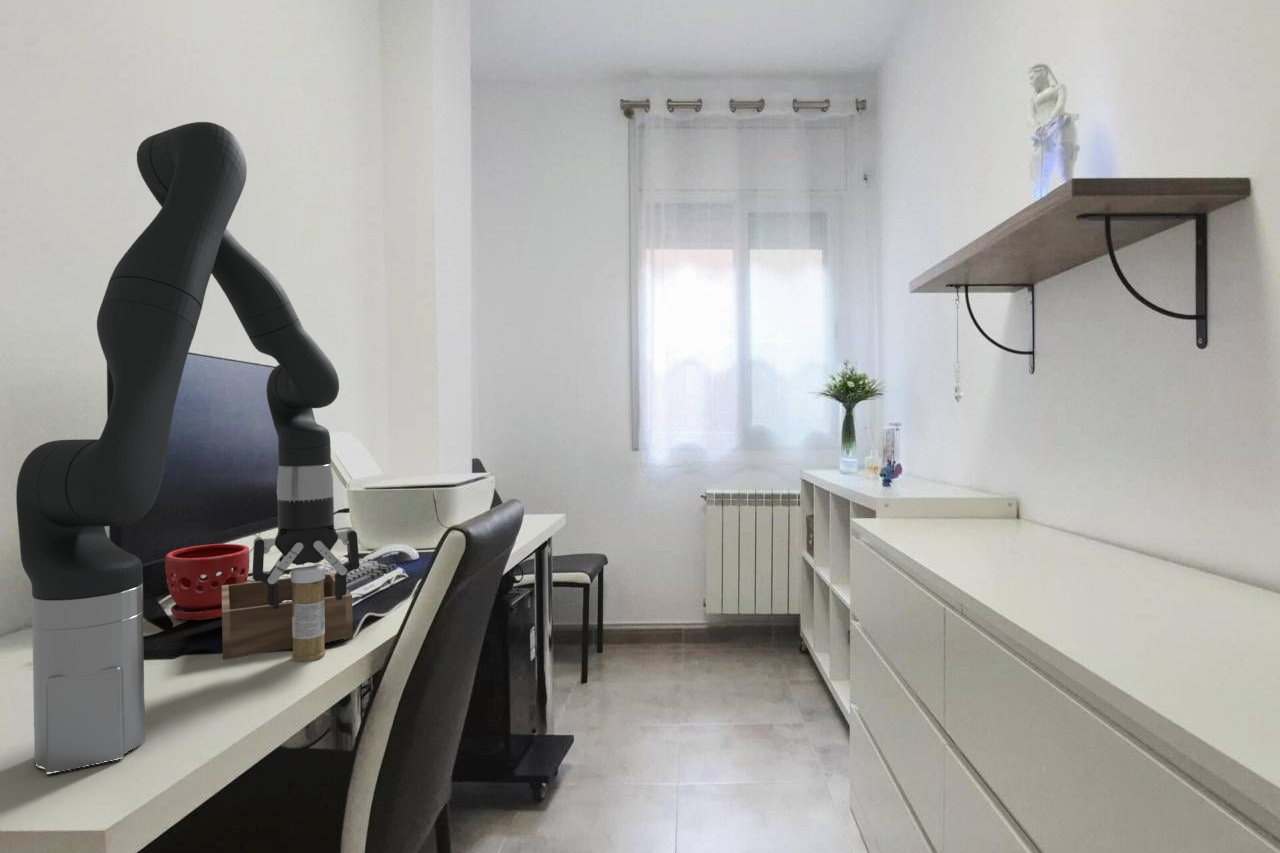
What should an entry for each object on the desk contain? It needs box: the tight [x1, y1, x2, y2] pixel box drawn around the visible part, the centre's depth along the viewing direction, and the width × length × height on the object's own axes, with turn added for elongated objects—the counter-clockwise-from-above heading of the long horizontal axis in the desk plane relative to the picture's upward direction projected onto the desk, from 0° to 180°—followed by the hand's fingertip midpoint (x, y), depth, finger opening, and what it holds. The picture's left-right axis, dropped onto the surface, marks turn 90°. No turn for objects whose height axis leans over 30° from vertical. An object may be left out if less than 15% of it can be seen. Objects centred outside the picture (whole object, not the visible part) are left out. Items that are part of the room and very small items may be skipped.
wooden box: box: [221, 572, 354, 660], centre depth 115 cm, size 20×18×7 cm
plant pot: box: [164, 543, 250, 621], centre depth 126 cm, size 13×13×12 cm
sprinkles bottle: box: [290, 564, 326, 662], centre depth 102 cm, size 5×5×13 cm
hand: (308, 603), depth 103 cm, fingers open, 8 cm apart
